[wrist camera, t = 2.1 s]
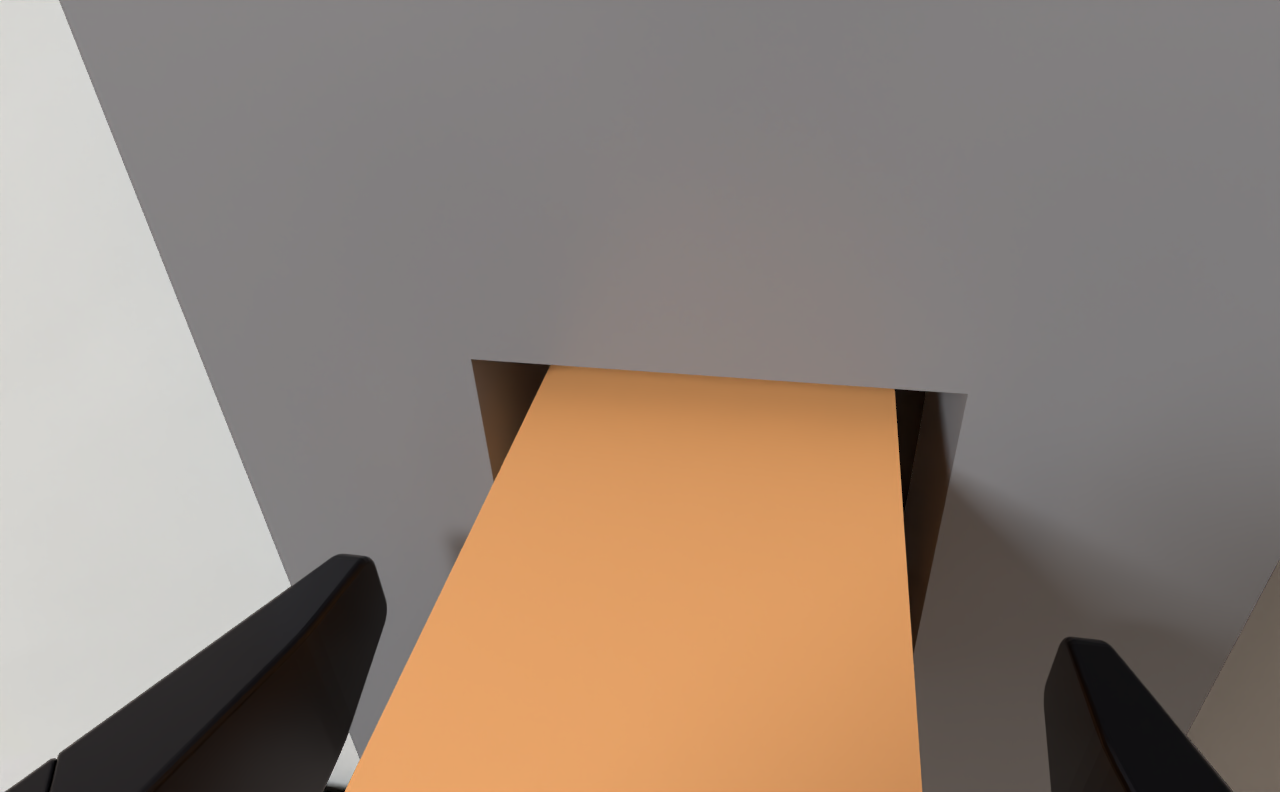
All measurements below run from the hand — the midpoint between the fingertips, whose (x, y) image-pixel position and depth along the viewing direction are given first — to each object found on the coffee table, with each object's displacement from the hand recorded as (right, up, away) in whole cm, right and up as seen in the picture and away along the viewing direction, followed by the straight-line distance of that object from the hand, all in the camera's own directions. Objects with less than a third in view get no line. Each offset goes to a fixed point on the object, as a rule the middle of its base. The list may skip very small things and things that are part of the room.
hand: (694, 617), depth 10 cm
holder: (+1, +2, +3) cm, 4 cm away
